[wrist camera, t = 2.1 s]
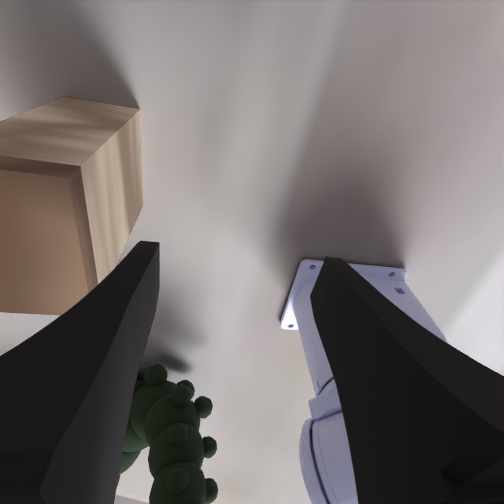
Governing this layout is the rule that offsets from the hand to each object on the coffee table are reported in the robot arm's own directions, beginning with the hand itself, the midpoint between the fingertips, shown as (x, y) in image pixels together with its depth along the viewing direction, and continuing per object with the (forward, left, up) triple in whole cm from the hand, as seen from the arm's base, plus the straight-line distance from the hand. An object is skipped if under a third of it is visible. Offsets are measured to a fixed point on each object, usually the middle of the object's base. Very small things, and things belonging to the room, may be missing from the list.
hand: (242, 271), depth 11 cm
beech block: (+8, 0, -10) cm, 13 cm away
